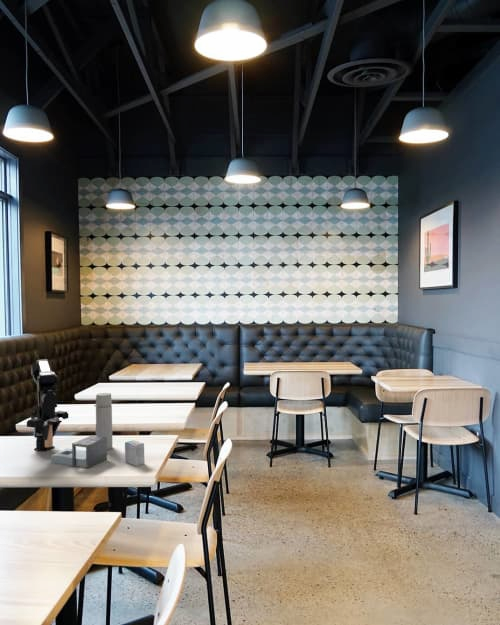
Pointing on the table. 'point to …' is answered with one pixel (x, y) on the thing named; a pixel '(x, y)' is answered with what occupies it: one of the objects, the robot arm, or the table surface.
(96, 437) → the grey open-top bin
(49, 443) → the peg
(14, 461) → the table surface
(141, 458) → the medicine box
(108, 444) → the water bottle
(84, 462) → the socket plate
